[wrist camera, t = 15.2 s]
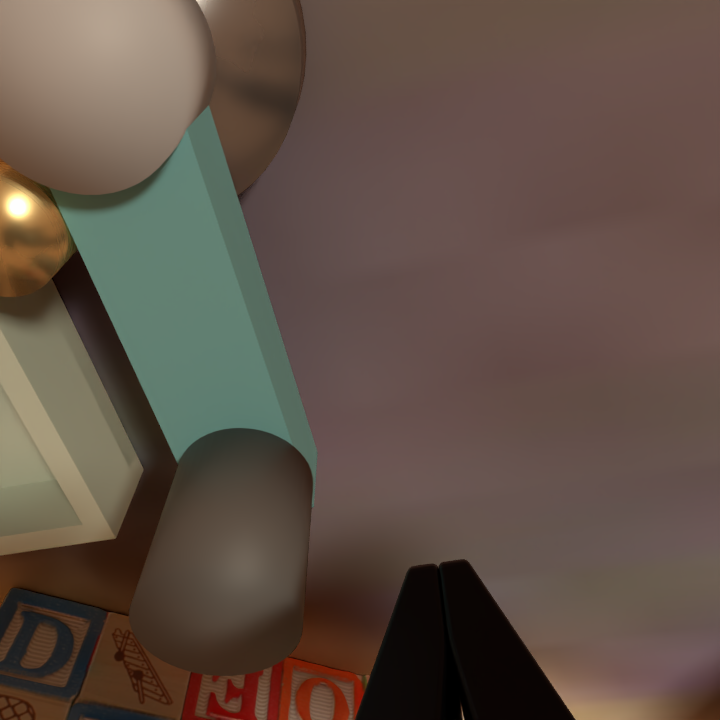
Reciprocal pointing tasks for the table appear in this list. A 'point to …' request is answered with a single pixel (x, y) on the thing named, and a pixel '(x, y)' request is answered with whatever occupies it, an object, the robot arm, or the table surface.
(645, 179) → the table surface
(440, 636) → the robot arm
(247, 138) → the crank base
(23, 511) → the tray
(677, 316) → the table surface
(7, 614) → the stack of blocks
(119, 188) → the crank
